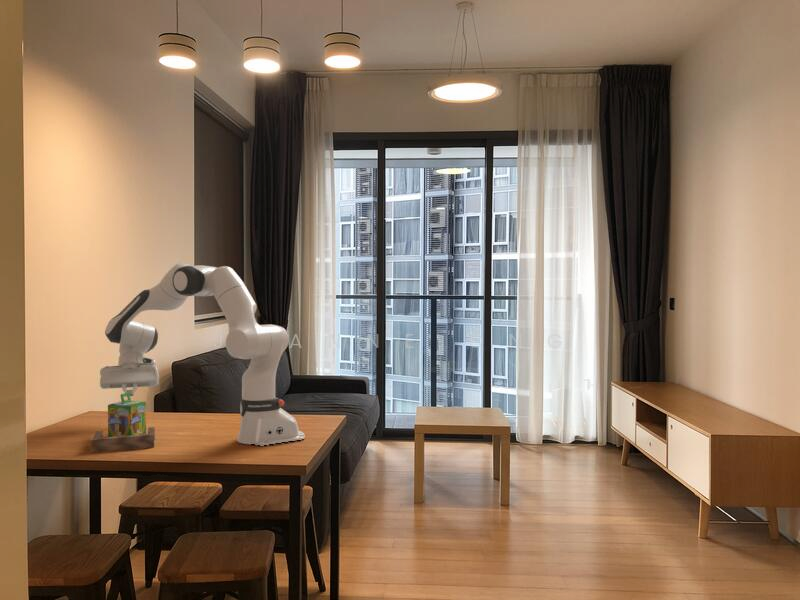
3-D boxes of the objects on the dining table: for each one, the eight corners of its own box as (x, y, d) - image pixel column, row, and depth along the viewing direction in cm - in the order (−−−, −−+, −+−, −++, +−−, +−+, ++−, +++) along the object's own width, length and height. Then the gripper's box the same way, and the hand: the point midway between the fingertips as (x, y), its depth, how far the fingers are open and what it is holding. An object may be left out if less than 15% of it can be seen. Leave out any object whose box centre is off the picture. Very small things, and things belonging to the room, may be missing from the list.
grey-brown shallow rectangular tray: (154, 438, 203) (154, 427, 203) (154, 447, 192) (153, 434, 192) (96, 443, 197) (95, 431, 196) (91, 452, 185) (91, 439, 185)
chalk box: (130, 439, 202) (130, 396, 202) (106, 438, 204) (106, 395, 204) (147, 433, 211) (147, 391, 211) (124, 432, 213) (124, 390, 213)
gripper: (100, 361, 222) (97, 391, 213) (159, 359, 229) (158, 388, 220) (101, 371, 226) (98, 402, 217) (159, 369, 233) (158, 398, 224)
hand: (129, 395), depth 219 cm, fingers closed
